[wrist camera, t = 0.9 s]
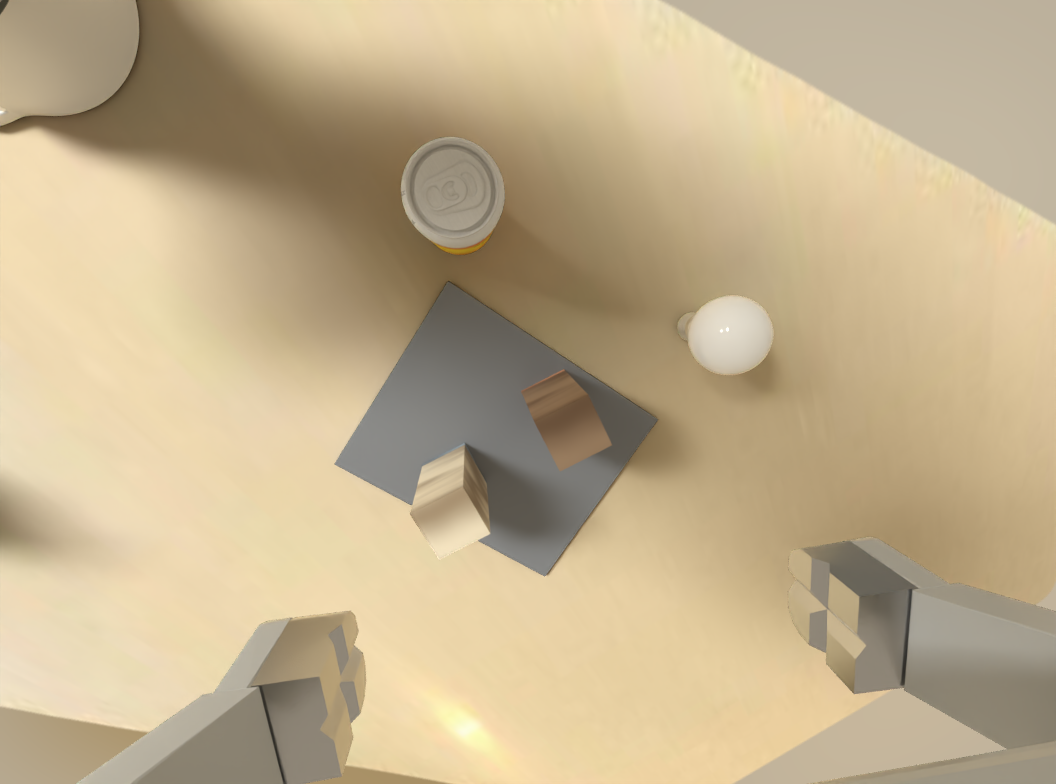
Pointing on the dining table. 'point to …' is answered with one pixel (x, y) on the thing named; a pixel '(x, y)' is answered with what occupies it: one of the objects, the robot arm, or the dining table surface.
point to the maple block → (451, 502)
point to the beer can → (453, 194)
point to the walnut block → (566, 419)
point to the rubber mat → (490, 427)
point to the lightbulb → (728, 334)
